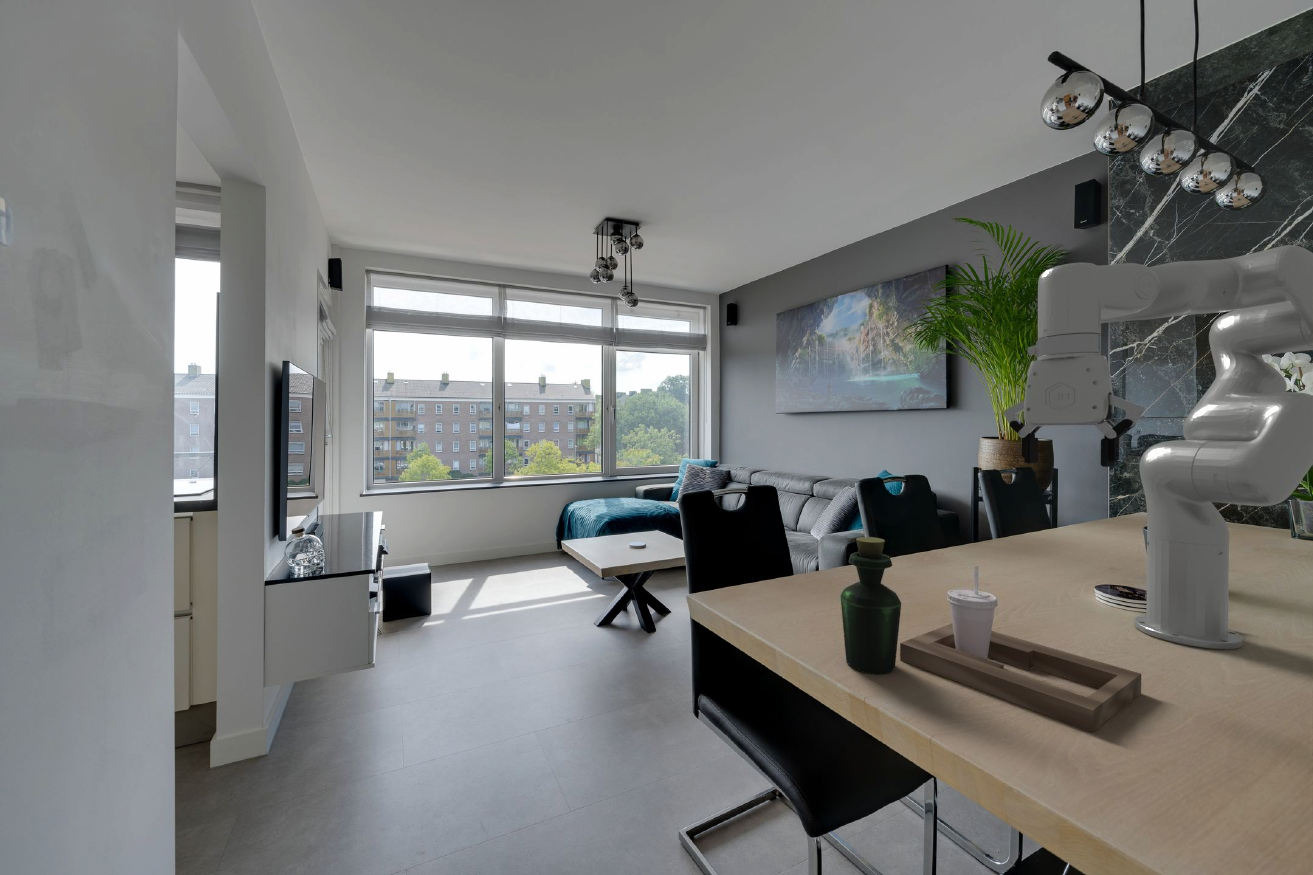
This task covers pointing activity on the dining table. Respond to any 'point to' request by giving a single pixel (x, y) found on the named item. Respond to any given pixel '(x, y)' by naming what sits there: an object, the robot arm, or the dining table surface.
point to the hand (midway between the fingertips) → (1067, 464)
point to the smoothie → (972, 618)
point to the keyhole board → (990, 677)
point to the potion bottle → (870, 611)
